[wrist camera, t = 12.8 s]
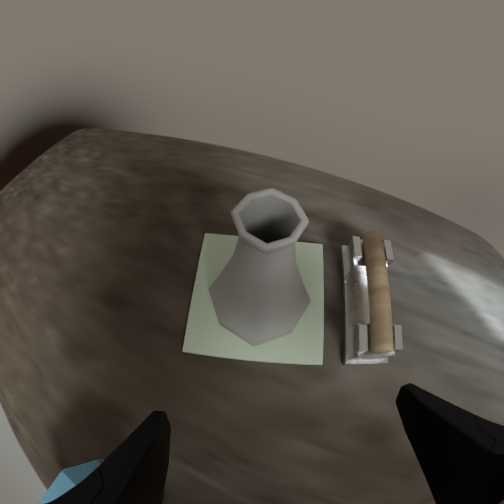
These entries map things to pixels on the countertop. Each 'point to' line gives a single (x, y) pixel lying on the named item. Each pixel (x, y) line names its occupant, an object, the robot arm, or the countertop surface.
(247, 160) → the countertop surface
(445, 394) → the countertop surface
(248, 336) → the flask
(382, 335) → the rod
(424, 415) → the robot arm
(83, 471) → the teapot
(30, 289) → the countertop surface
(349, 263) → the cradle
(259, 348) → the pad
